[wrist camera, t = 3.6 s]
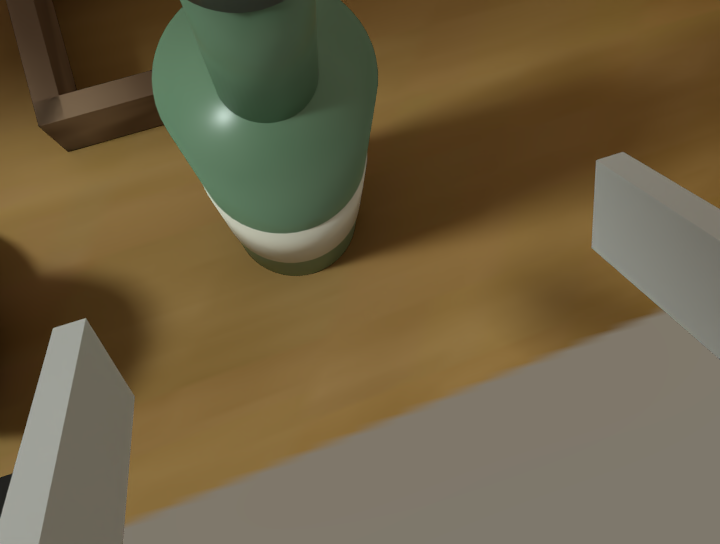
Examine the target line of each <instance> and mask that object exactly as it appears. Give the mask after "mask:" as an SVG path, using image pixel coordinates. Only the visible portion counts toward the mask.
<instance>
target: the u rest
mask: <svg viewBox="0 0 720 544" xmlns="http://www.w3.org/2000/svg"><path fill="white" fill-rule="evenodd" d="M6 2H7V6H8V10H9V14H10V18H11V22H12V25H13V29H14V33H15V37H16V41H17V45H18V49H19V52H20V56H21V60H22V64H23V68H24V72H25V76H26V79H27V83H28V87H29V91H30V95H31V99H32V102H33V106H34V110H35V114H36V118H37V122H38V126H39V127H40V128H41V129H42V130H43V131H45V132H46V133H47V134H48V135H49V136H50V137H52V138H53V139H54V140H55V141H56V142H57V143H59V144H60V145H61V146H62V147H63V148H64V149H66V150H67V151H68V152H69V151H72V150H76V149H79V148H83V147H86V146H90V145H93V144H97V143H101V142H104V141H108V140H111V139H115V138H118V137H122V136H125V135H129V134H132V133H136V132H139V131H143V130H146V129H150V128H153V127H157V126H160V125H164V123H163V122H162V120H161V118H160V115H159V113H158V110H157V107H156V104H155V100H154V95H153V88H152V70H150V71H147V72H143V73H140V74H136V75H132V76H129V77H125V78H121V79H118V80H114V81H110V82H107V83H103V84H99V85H96V86H92V87H88V88H85V89H81V90H78V91H77V89H76V85H75V82H74V78H73V75H72V71H71V67H70V64H69V60H68V56H67V53H66V49H65V45H64V42H63V38H62V34H61V31H60V27H59V23H58V20H57V16H56V12H55V9H54V5H53V2H52V0H6Z"/></svg>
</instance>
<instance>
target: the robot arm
mask: <svg viewBox="0 0 720 544" xmlns="http://www.w3.org/2000/svg"><path fill="white" fill-rule="evenodd" d="M592 249H593V250H595V251H596V252H597V253H598V254H599V255H600V256H602V257H603V258H604V259H605V260H606V261H607V262H608V263H610V264H611V265H612V266H613V267H614V268H615V269H616V270H618V271H619V272H620V273H621V274H622V275H623V276H624V277H626V278H627V279H628V280H629V281H630V282H631V283H632V284H634V285H635V286H636V287H637V288H638V289H639V290H641V291H642V292H643V293H644V294H645V295H646V296H647V297H649V298H650V299H651V300H652V301H653V302H654V303H655V304H657V305H658V306H659V307H660V308H661V309H662V310H663V311H665V312H666V313H667V314H668V315H669V316H670V317H672V318H673V319H674V320H675V321H676V322H677V323H679V324H680V325H681V326H682V327H683V328H684V329H685V330H687V331H688V332H689V333H690V334H691V335H692V336H693V337H694V338H696V339H697V340H698V341H699V342H700V343H701V344H703V345H704V346H705V347H706V348H707V349H708V350H709V351H711V352H712V353H713V354H714V355H715V356H717V358H719V359H720V209H718V208H717V207H715V206H713V205H712V204H710V203H708V202H707V201H705V200H703V199H702V198H700V197H698V196H697V195H695V194H693V193H692V192H690V191H688V190H687V189H685V188H683V187H681V186H680V185H678V184H676V183H675V182H673V181H671V180H670V179H668V178H666V177H665V176H663V175H661V174H660V173H658V172H656V171H655V170H653V169H651V168H650V167H648V166H646V165H645V164H643V163H641V162H639V161H638V160H636V159H634V158H633V157H631V156H629V155H628V154H626V153H624V152H621V153H618V154H614V155H611V156H608V157H605V158H601V159H598V160H596V172H595V191H594V211H593V230H592ZM134 399H135V396H134V395H133V393H132V392H131V390H130V388H129V387H128V385H127V384H126V382H125V380H124V379H123V377H122V375H121V374H120V372H119V371H118V369H117V367H116V366H115V364H114V363H113V361H112V359H111V358H110V356H109V355H108V353H107V351H106V350H105V348H104V346H103V345H102V343H101V342H100V340H99V338H98V337H97V335H96V334H95V332H94V330H93V329H92V327H91V325H90V324H89V322H88V321H87V319H86V318H84V319H81V320H78V321H75V322H71V323H68V324H65V325H62V326H59V327H55V328H53V330H52V334H51V337H50V341H49V345H48V348H47V352H46V355H45V359H44V363H43V366H42V370H41V373H40V377H39V381H38V384H37V388H36V391H35V395H34V399H33V402H32V406H31V409H30V413H29V417H28V420H27V424H26V427H25V431H24V434H23V438H22V442H21V445H20V449H19V452H18V456H17V460H16V463H15V467H14V470H13V474H10V475H7V476H4V477H1V478H0V544H123V534H124V522H125V510H126V497H127V485H128V473H129V460H130V448H131V436H132V424H133V411H134Z"/></svg>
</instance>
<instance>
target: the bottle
mask: <svg viewBox="0 0 720 544" xmlns="http://www.w3.org/2000/svg"><path fill="white" fill-rule="evenodd" d="M180 1H181V4H182V6H183V7H182V8H181V9H180V10H179V11H178V12H177V13H176V14H175V16H174V17H173V18H172V20H171V21H170V22H169V24H168V25H167V27H166V29H165V31H164V32H163V34H162V36H161V38H160V41H159V43H158V46H157V49H156V52H155V56H154V61H153V68H152V88H153V95H154V100H155V104H156V107H157V110H158V113H159V115H160V118H161V120H162V122H163V123H164V125H165V127H166V129H167V131H168V132H169V134H170V135H171V137H172V138H173V140H174V141H175V143H176V144H177V146H178V147H179V149H180V151H181V152H182V154H183V155H184V157H185V158H186V160H187V161H188V163H189V164H190V166H191V167H192V169H193V170H194V172H195V173H196V175H197V176H198V178H199V180H200V181H201V183H202V184H203V186H204V188H205V190H206V192H207V194H208V196H209V197H210V199H211V200H212V202H213V203H214V205H215V206H216V208H217V209H218V211H219V212H220V214H221V215H222V217H223V218H224V220H225V221H226V223H227V224H228V226H229V227H230V229H231V230H232V232H233V233H234V235H235V236H236V237H237V239H238V240H239V241H240V242H241V244H242V245H243V247H244V248H245V250H246V251H247V252H248V254H249V255H250V256H251V257H252V258H253V259H254V260H255V261H256V262H257V263H259V264H260V265H261V266H263V267H265V268H266V269H268V270H271V271H273V272H275V273H279V274H283V275H289V276H301V275H308V274H312V273H316V272H318V271H321V270H323V269H325V268H327V267H328V266H330V265H331V264H333V263H334V262H335V261H336V260H337V259H338V258H339V257H340V256H341V255H342V254H343V253H344V252H345V250H346V249H347V247H348V245H349V244H350V242H351V239H352V237H353V234H354V230H355V224H356V218H357V215H358V211H359V207H360V201H361V195H362V189H363V183H364V177H365V171H366V164H367V150H368V144H369V137H370V131H371V125H372V119H373V113H374V106H375V100H376V94H377V86H378V69H377V62H376V56H375V53H374V49H373V46H372V43H371V41H370V39H369V36H368V34H367V32H366V30H365V29H364V27H363V26H362V24H361V22H360V21H359V20H358V18H357V17H356V16H355V15H354V13H353V12H352V11H351V10H350V9H349V8H348V7H347V6H346V5H345V4H344V3H343V2H342V1H340V0H180Z"/></svg>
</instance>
